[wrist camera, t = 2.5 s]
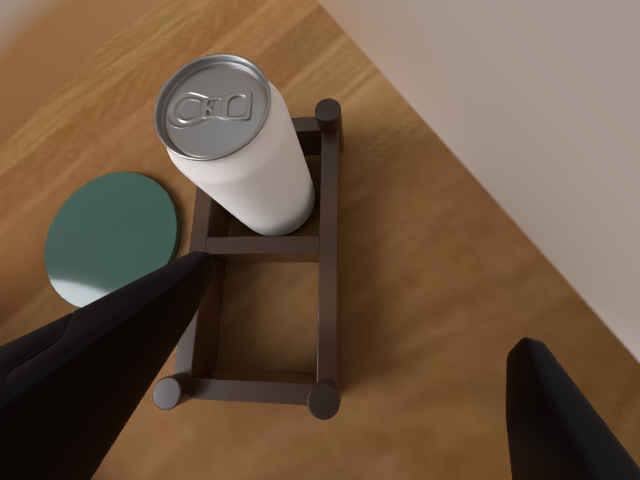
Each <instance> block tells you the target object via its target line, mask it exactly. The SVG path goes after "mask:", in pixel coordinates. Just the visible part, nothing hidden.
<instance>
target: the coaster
mask: <svg viewBox="0 0 640 480" xmlns="http://www.w3.org/2000/svg"><path fill="white" fill-rule="evenodd" d="M179 241H180V218H179V213H178V210H177V207H176V205H175V202H174V200H173V199H172V197H171V196H170V194H169V193H168V192H167V191H166V190H165V188H164V187H162V186H161V185H160V184H158V183H157V182H156V181H154V180H152V179H150V178H149V177H147V176H144V175H141V174H137V173H131V172H117V173H111V174H107V175H104V176H101V177H98V178H96V179H94V180H92V181H90V182H88V183H87V184H85V185H83V186H82V187H81V188H79V189H78V190H77V191H76V192H75V193H73V194H72V195H71V196H70V197H69V198H68V199H67V201H66V202H65V203H64V204H63V205H62V207H61V208H60V209H59V211H58V213H57V214H56V216H55V218H54V220H53V222H52V224H51V226H50V229H49V232H48V235H47V239H46V244H45V266H46V271H47V275H48V278H49V280H50V282H51V284H52V286H53V287H54V289H55V290H56V292H57V293H58V294H59V295H60V296H61V297H62V298H63V299H64V300H66V301H67V302H69V303H70V304H72V305H74V306H76V307H79V308H82V307H84V306H86V305H88V304H90V303H92V302H94V301H96V300H98V299H99V298H101V297H103V296H105V295H107V294H109V293H111V292H113V291H115V290H117V289H119V288H121V287H123V286H125V285H127V284H129V283H131V282H133V281H135V280H137V279H139V278H141V277H143V276H145V275H147V274H149V273H151V272H153V271H155V270H157V269H159V268H161V267H163V266H165V265H167V264H169V263H171V262H173V260H174V258H175V255H176V253H177V249H178V245H179Z"/></svg>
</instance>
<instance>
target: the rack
mask: <svg viewBox="0 0 640 480" xmlns="http://www.w3.org/2000/svg"><path fill="white" fill-rule="evenodd" d="M315 114H316V117H303V118H291V121H292V123H293V126H294V129H295V132H296V135H297V138H298V141H299V144H300V146H301V149H302V152H303V155H318V154H321V188H320V237H319V236H265V237H228V227H229V217H230V212H229V211H228V210H227V209H225V208H224V207H223V206H222V205H220V204H219V203H218V202H217V201H216V200H214V199H213V198H212V197H211V196H209V195H208V194H207V193H206V192H205V191H203V190H202V189H201V188H200V187H199V186H197V192H196V200H195V208H194V216H193V224H192V233H191V241H190V249H189V253H191V252H193V251H195V250H203V251H206V252H209V253H210V254H211V256H212V260H213V264H214V268H215V275H214V278H213V280H212V282H211V284H210V286H209V288H208V290H207V292H206V294H205V296H204V298H203V300H202V302H201V304H200V306H199V308H198V310H197V312H196V314H195V316H194V318H193V319H192V321H191V323H190V324H189V326H188V328H187V329H186V331H185V332H184V334H183V335H182V337H181V339H180V340H179V342H178V345H177V354H176V362H175V370H174V375H170V376H167V377H164V378H162V379H160V380H159V381H158V382H157V384H156V385H155V387H154V390H153V401H154V403H155V405H156V406H157V407H158V408H160V409H163V410H170V409H172V408H174V407H176V406H178V405H180V404H182V403H184V402H187V401H189V400H191V399H206V400H224V401H242V402H261V403H279V404H297V405H308V408H309V410H310V412H311V413H312V415H313V416H315V417H316V418H318V419H321V420H327V419H330V418H332V417H333V416H334V415H335V414H336V413H337V412H338V409H339V406H340V402H341V397H342V393H343V388H344V380H343V377H342V376H341V374H340V185H341V153H342V152H343V150H344V138H343V127H342V115H341V106H340V104H339V103H338V102H337V101H336V100H334V99H324V100H322V101H320V102H319V103H318V104H317V106H316V108H315ZM225 262H319V285H318V334H317V374H313V373H289V372H265V371H242V370H218V369H215V365H216V354H217V344H218V333H219V323H220V312H221V302H222V291H223V280H224V270H225Z"/></svg>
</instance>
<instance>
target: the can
mask: <svg viewBox="0 0 640 480" xmlns="http://www.w3.org/2000/svg"><path fill="white" fill-rule="evenodd" d="M154 126H155V130H156V133H157V135H158V137H159V139H160V140H161V142H162V143H163V144H164V146H165V147H166V148H167V151H168V153H169V155H170V158H171V159H172V161H173V162H174V164H175V165H176V166H177V167H178V168H179V170H180V171H181V172H182V173H184V174H185V175H186V176H187V177H188V178H189V179H190V180H191V181H193V182H194V183H195V184H196V185H197V186H199V187H200V188H201V189H202V190H203V191H205V192H206V193H207V194H208V195H209V196H211V197H212V198H213V199H214V200H216V201H217V202H218V203H219V204H220V205H222V206H223V207H224V208H225V209H227V210H228V211H229V212H230V213H231V214H233V215H234V216H235V217H236V218H238V219H239V220H240V221H241V222H243V223H244V224H245V225H246V226H248V227H249V228H250V229H252V230H253V231H255V232H257V233H259V234H262V235H265V236H282V235H286V234H289V233H291V232H293V231H295V230H296V229H298V228H299V227H300V226H302V225H303V224H304V223H305V222H306V220H307V219H308V218H309V216H310V214H311V212H312V210H313V207H314V203H315V190H314V186H313V182H312V179H311V176H310V173H309V170H308V167H307V164H306V161H305V158H304V155H303V152H302V149H301V146H300V144H299V141H298V138H297V135H296V132H295V129H294V126H293V123H292V121H291V118H290V115H289V112H288V110H287V107H286V105H285V102H284V100H283V98H282V96H281V95H280V93H279V92H278V90H277V89H276V88H275V87H274V86H273V85H272V84H271V83H270V82H269V81H268V80H267V78H266V76H265V75H264V73H263V72H262V71H261V69H260V68H259V67H258V66H257V65H255V64H254V63H253V62H251V61H250V60H248V59H246V58H243V57H241V56H237V55H233V54H212V55H207V56H203V57H200V58H197V59H195V60H193V61H191V62H189V63H187V64H185V65H184V66H182V67H181V68H180V69H178V70H177V71H176V72H175V73H174V74H173V75H172V76H171V77H170V78H169V79H168V80H167V81H166V83H165V84H164V86H163V87H162V89H161V90H160V92H159V94H158V97H157V99H156V103H155V107H154Z"/></svg>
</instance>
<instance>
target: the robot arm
mask: <svg viewBox="0 0 640 480" xmlns="http://www.w3.org/2000/svg"><path fill="white" fill-rule="evenodd" d="M214 275H215V268H214V264H213V260H212V256H211V254H210V253H209V252H206V251H203V250H195V251H193V252H191V253H189V254H187V255H185V256H183V257H181V258H179V259H177V260H175V261H173V262H171V263H169V264H167V265H165V266H163V267H161V268H159V269H157V270H155V271H153V272H151V273H149V274H147V275H145V276H143V277H141V278H139V279H137V280H135V281H133V282H131V283H129V284H127V285H125V286H123V287H121V288H119V289H117V290H115V291H113V292H111V293H109V294H107V295H105V296H103V297H101V298H99V299H98V300H96V301H94V302H92V303H90V304H88V305H86V306H84V307H82V308H80V309H78V310H76V311H74V312H73V313H70V314H68V315H66V316H64V317H62V318H60V319H58V320H56V321H54V322H52V323H50V324H47V325H45V326H43V327H41V328H39V329H37V330H35V331H33V332H31V333H29V334H26V335H24V336H22V337H20V338H18V339H15V340H13V341H11V342H9V343H6V344H4V345H2V346H0V480H91V478H92V476H93V475H94V473H95V472H96V470H97V469H98V467H99V466H100V464H101V462H102V461H103V459H104V457H105V456H106V454H107V453H108V451H109V450H110V448H111V446H112V445H113V443H114V442H115V440H116V439H117V437H118V435H119V434H120V432H121V431H122V429H123V428H124V426H125V425H126V423H127V421H128V420H129V418H130V417H131V415H132V414H133V412H134V410H135V409H136V407H137V406H138V404H139V403H140V401H141V400H142V398H143V396H144V395H145V393H146V392H147V390H148V389H149V387H150V385H151V384H152V382H153V381H154V379H155V378H156V376H157V374H158V373H159V371H160V370H161V368H162V367H163V365H164V364H165V362H166V360H167V359H168V357H169V356H170V354H171V353H172V351H173V349H174V348H175V346H176V345H177V343H178V342H179V340H180V339H181V337H182V335H183V334H184V332H185V331H186V329H187V328H188V326H189V324H190V323H191V321H192V319H193V318H194V316H195V314H196V312H197V310H198V308H199V306H200V304H201V302H202V300H203V298H204V296H205V294H206V292H207V290H208V288H209V286H210V284H211V282H212V280H213V278H214ZM506 423H507V434H508V443H509V453H510V463H511V472H512V480H640V468H639V467H638V465H637V464H636V463H635V461H634V460H633V459H632V458H631V456H630V455H629V454H628V452H627V451H626V450H625V448H624V447H623V446H622V444H621V443H620V442H619V441H618V439H617V438H616V437H615V435H614V434H613V433H612V431H611V430H610V429H609V428H608V426H607V425H606V424H605V422H604V421H603V420H602V418H601V417H600V416H599V414H598V413H597V412H596V411H595V409H594V408H593V407H592V405H591V404H590V403H589V401H588V400H587V399H586V398H585V396H584V395H583V394H582V392H581V391H580V390H579V388H578V387H577V386H576V385H575V383H574V382H573V381H572V379H571V378H570V377H569V375H568V374H567V373H566V371H565V370H564V369H563V368H562V366H561V365H560V364H559V362H558V361H557V360H556V358H555V357H554V356H553V355H552V353H551V352H550V351H549V349H548V348H547V347H546V345H545V344H544V343H542V342H541V341H538V340H535V339H531V338H527V337H525V338H522V339H521V340H520V341H519V342H518V343H517V344H516V345H515V346H514V348H513V349H512V350H511V351H510V352H509V354H508V356H507V371H506Z"/></svg>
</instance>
